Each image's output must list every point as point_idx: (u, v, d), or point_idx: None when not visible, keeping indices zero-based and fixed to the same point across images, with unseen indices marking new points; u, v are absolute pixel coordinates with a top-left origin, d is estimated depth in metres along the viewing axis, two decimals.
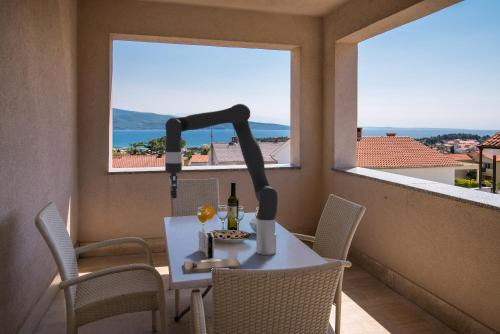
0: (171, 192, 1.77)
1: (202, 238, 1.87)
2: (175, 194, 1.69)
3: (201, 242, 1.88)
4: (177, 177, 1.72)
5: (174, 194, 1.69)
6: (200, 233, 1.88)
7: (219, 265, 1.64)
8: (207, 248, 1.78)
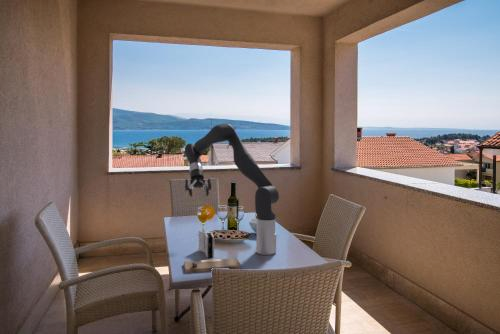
0: None
1: (202, 238, 1.87)
2: (189, 192, 2.03)
3: (201, 242, 1.88)
4: (194, 180, 2.07)
5: (189, 192, 2.03)
6: (200, 233, 1.88)
7: (219, 265, 1.64)
8: (207, 248, 1.78)
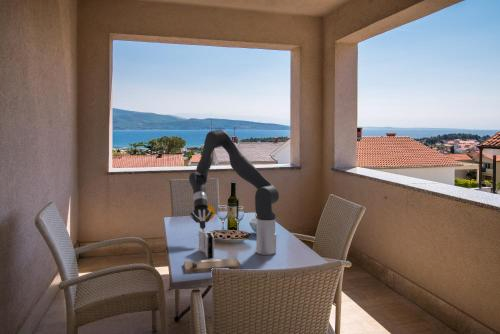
0: None
1: (202, 238, 1.87)
2: (200, 225, 1.99)
3: (201, 242, 1.88)
4: (198, 211, 2.03)
5: (200, 225, 1.99)
6: (200, 233, 1.88)
7: (219, 265, 1.64)
8: (207, 248, 1.78)
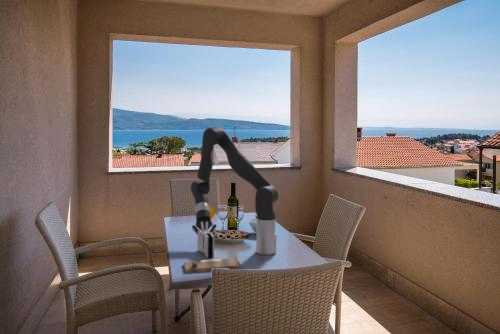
0: None
1: (201, 238, 1.86)
2: None
3: (200, 242, 1.87)
4: (200, 223, 1.92)
5: None
6: (199, 233, 1.87)
7: (219, 265, 1.64)
8: (207, 248, 1.78)
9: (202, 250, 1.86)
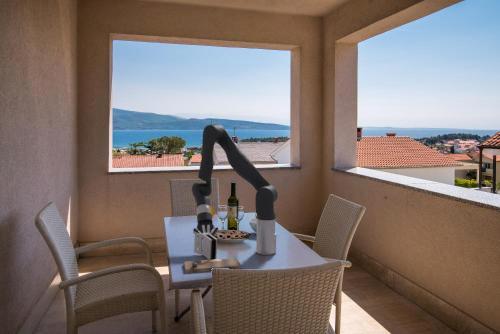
0: None
1: (199, 240, 1.80)
2: None
3: (198, 244, 1.81)
4: (202, 226, 1.85)
5: None
6: (196, 235, 1.81)
7: (219, 265, 1.64)
8: (210, 251, 1.73)
9: (200, 252, 1.81)
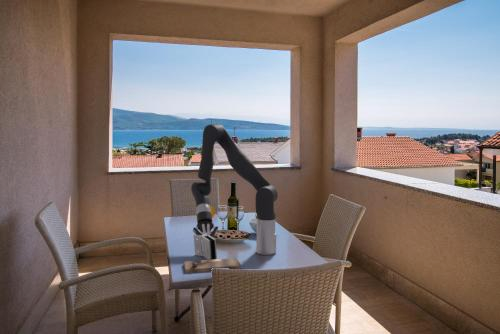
0: None
1: (198, 242, 1.80)
2: None
3: (197, 246, 1.80)
4: (201, 225, 1.85)
5: None
6: (195, 237, 1.80)
7: (219, 265, 1.64)
8: (210, 252, 1.72)
9: (201, 254, 1.80)
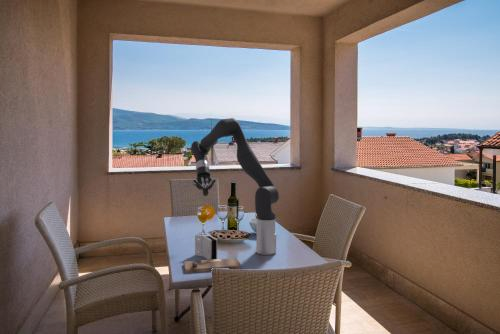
0: None
1: (199, 242, 1.80)
2: (203, 191, 2.02)
3: (198, 246, 1.81)
4: (201, 178, 2.06)
5: (203, 192, 2.02)
6: (197, 237, 1.80)
7: (219, 265, 1.64)
8: (211, 252, 1.73)
9: (201, 254, 1.80)
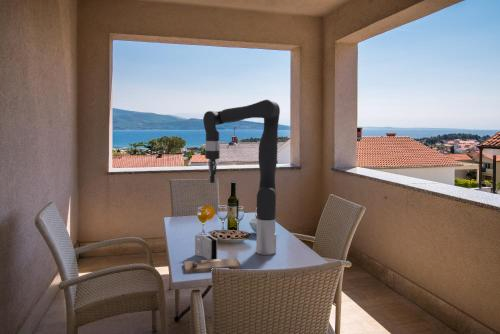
0: None
1: (199, 242, 1.80)
2: (213, 179, 1.97)
3: (198, 246, 1.81)
4: (216, 164, 1.96)
5: (212, 179, 1.97)
6: (197, 237, 1.80)
7: (219, 265, 1.64)
8: (211, 251, 1.73)
9: (201, 254, 1.80)
